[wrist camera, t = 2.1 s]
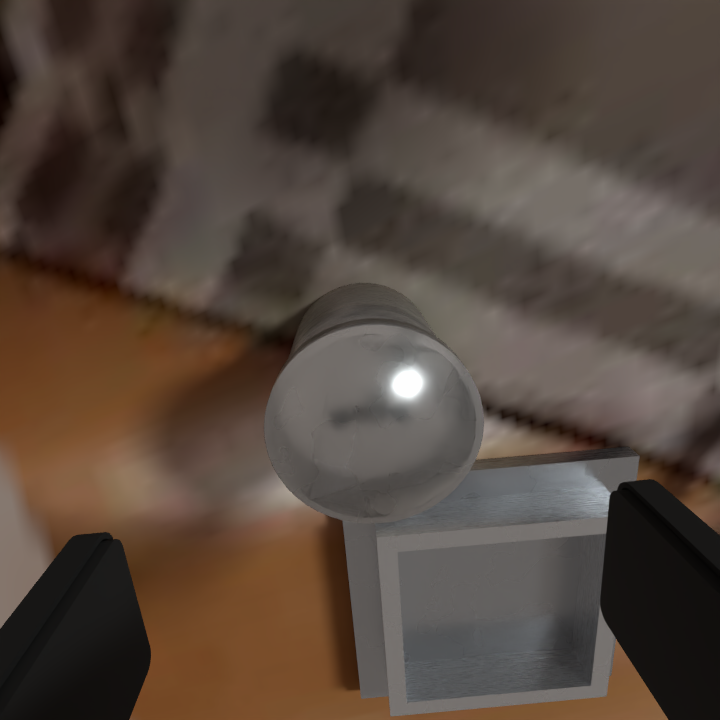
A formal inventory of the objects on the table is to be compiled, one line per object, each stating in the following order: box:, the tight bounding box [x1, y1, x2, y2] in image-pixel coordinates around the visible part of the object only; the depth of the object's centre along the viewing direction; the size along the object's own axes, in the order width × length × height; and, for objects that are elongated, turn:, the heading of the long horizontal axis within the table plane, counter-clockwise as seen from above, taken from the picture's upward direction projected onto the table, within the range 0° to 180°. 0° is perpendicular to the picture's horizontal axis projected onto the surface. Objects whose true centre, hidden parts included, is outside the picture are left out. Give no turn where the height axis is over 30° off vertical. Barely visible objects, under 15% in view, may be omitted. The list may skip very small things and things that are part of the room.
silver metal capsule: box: [264, 283, 484, 524], centre depth 17 cm, size 6×6×7 cm
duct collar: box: [343, 447, 639, 716], centre depth 23 cm, size 13×13×3 cm
